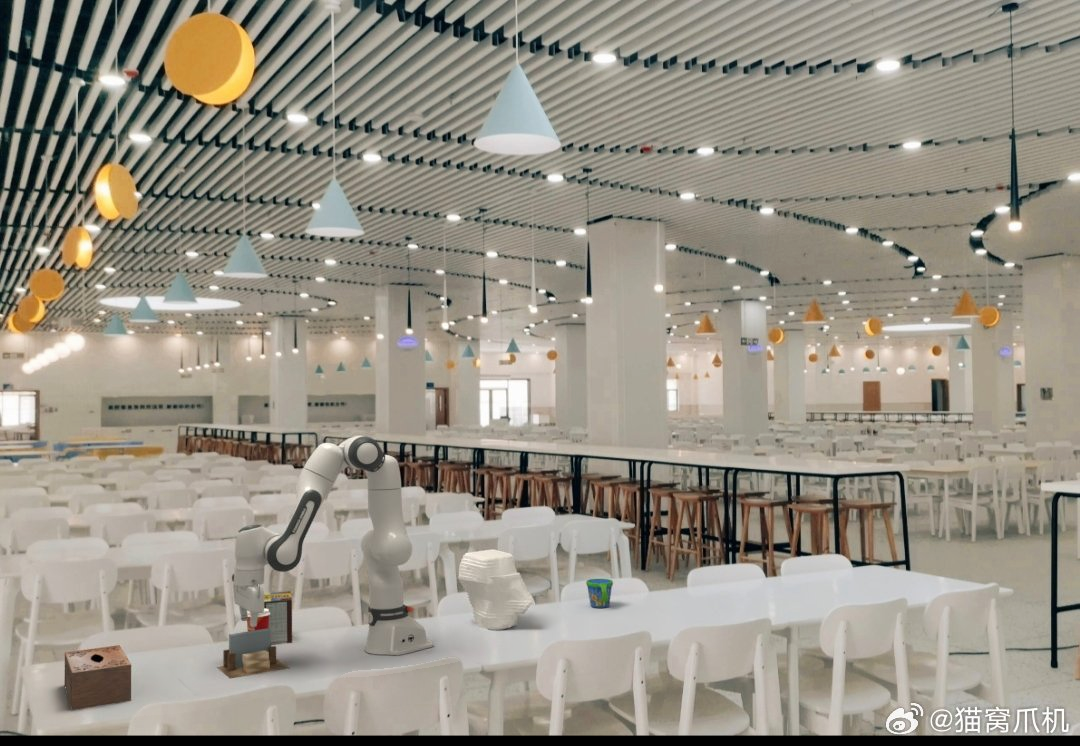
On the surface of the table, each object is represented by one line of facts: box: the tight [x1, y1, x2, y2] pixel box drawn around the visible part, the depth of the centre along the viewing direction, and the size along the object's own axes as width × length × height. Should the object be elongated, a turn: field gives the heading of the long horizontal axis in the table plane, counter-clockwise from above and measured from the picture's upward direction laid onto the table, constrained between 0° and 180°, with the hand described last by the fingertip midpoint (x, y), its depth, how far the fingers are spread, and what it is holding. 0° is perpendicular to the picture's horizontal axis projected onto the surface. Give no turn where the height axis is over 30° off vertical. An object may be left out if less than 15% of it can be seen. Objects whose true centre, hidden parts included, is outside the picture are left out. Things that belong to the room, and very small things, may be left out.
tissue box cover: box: [64, 644, 132, 711], centre depth 254 cm, size 26×14×10 cm, turn 32°
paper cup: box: [246, 608, 270, 632], centre depth 294 cm, size 8×8×14 cm
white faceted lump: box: [457, 548, 533, 631], centre depth 328 cm, size 21×27×26 cm
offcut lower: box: [244, 661, 270, 673], centre depth 272 cm, size 7×3×2 cm, turn 124°
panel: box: [228, 629, 270, 668], centre depth 278 cm, size 12×2×10 cm, turn 124°
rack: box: [216, 643, 291, 679], centre depth 275 cm, size 18×15×6 cm
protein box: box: [264, 590, 293, 646], centre depth 311 cm, size 10×15×16 cm
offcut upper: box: [242, 651, 269, 665], centre depth 272 cm, size 7×3×2 cm, turn 129°
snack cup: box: [585, 578, 614, 609], centre depth 358 cm, size 16×10×10 cm
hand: (248, 623), depth 278 cm, fingers open, 8 cm apart
